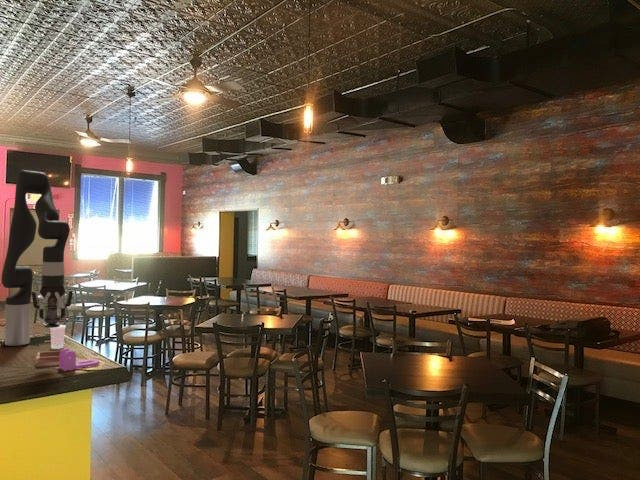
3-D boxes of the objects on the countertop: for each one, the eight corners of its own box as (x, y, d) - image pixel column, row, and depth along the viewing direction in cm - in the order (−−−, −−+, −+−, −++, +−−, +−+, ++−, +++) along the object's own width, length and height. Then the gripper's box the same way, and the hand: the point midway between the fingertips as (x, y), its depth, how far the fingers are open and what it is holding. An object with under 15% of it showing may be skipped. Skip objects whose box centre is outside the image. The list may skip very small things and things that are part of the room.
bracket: (64, 371, 181) (65, 352, 181) (59, 368, 185) (59, 349, 185) (101, 365, 190) (102, 346, 190) (95, 362, 194) (96, 344, 194)
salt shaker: (53, 328, 188) (53, 295, 188) (39, 327, 190) (39, 295, 189) (64, 325, 194) (64, 294, 194) (50, 324, 195) (51, 293, 195)
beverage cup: (68, 346, 217) (69, 313, 217) (59, 349, 211) (60, 315, 211) (54, 345, 218) (55, 312, 217) (45, 348, 212) (46, 315, 211)
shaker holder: (36, 359, 195) (36, 351, 195) (65, 357, 199) (65, 349, 199) (35, 367, 185) (35, 358, 185) (66, 364, 190) (66, 356, 190)
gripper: (73, 272, 198) (72, 315, 199) (31, 273, 191) (30, 317, 192) (74, 274, 192) (73, 319, 192) (30, 275, 185) (29, 321, 185)
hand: (52, 318), depth 192 cm, fingers closed on salt shaker, 6 cm apart
